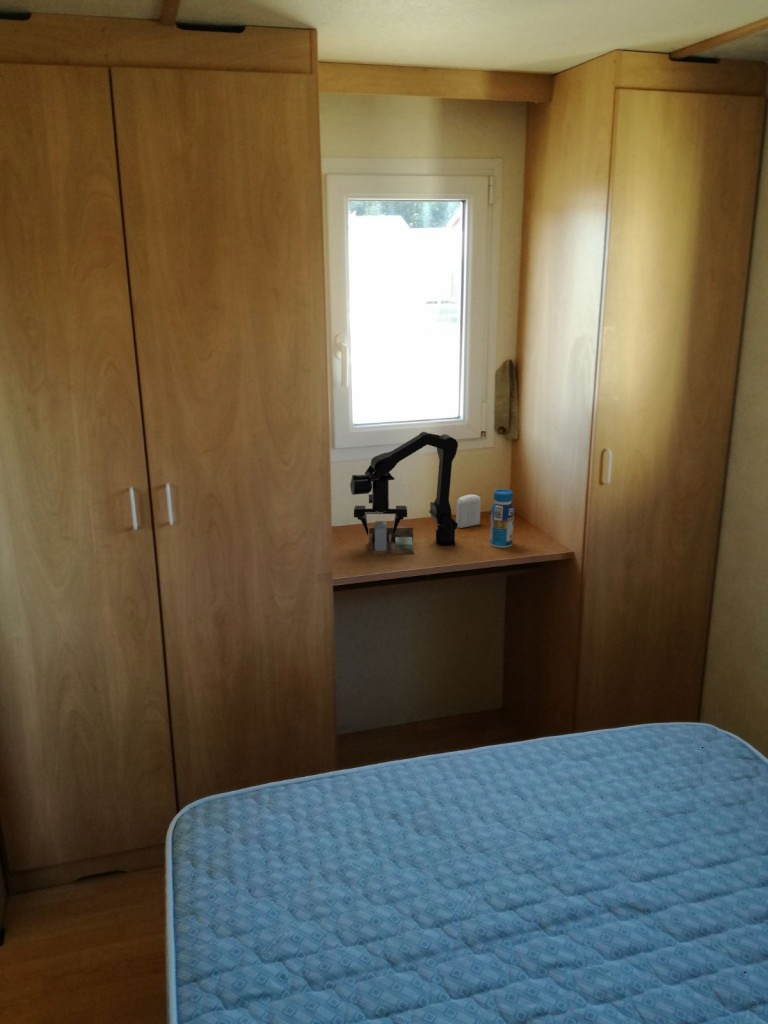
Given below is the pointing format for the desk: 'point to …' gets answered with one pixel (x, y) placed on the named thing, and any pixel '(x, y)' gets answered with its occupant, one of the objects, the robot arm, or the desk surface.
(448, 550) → the desk surface
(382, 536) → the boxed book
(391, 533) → the book rack
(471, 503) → the photo printer
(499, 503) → the beverage bottle
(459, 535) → the desk surface
